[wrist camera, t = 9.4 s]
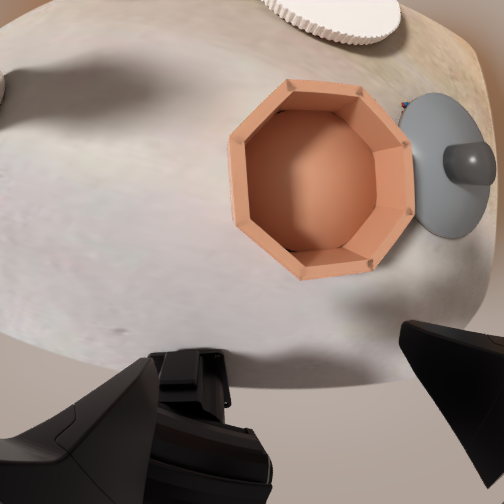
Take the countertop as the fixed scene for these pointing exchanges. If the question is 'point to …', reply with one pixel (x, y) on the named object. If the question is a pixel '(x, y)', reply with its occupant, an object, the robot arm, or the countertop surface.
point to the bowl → (321, 179)
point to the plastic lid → (341, 18)
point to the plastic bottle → (2, 86)
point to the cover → (447, 165)
